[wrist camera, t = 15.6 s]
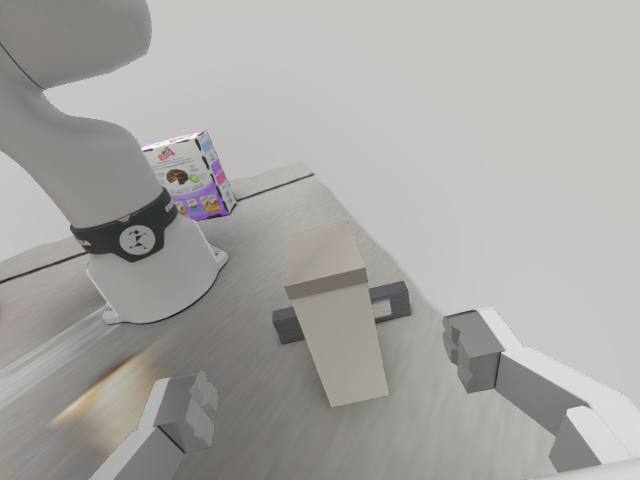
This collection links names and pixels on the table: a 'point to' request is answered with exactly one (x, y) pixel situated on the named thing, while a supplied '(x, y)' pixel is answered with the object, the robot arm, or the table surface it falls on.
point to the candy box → (192, 175)
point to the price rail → (384, 303)
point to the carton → (335, 312)
